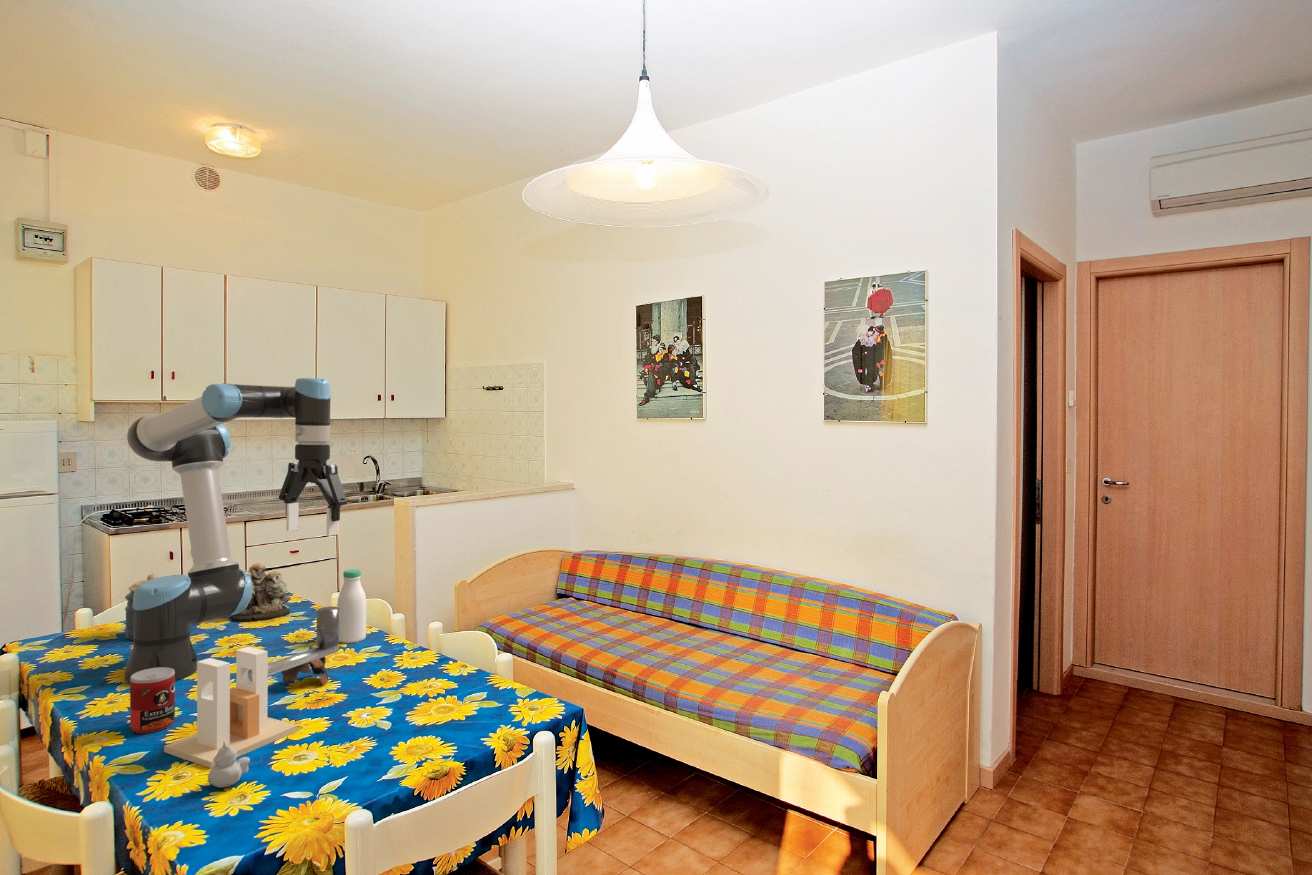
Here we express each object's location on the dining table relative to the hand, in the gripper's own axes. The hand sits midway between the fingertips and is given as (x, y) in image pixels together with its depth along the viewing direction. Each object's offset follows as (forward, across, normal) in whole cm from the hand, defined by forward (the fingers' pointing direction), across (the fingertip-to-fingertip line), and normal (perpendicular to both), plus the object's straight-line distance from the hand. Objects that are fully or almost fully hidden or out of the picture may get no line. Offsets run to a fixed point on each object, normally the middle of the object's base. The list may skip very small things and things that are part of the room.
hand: (312, 532), depth 175 cm
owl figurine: (+37, -64, +33) cm, 81 cm away
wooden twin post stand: (+37, +12, -28) cm, 48 cm away
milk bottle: (+37, -20, +30) cm, 52 cm away
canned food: (+37, -9, -31) cm, 49 cm away
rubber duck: (+37, +27, -39) cm, 60 cm away
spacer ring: (+36, +12, -27) cm, 46 cm away
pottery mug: (+37, -2, +1) cm, 37 cm away
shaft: (+26, +12, -14) cm, 32 cm away
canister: (+37, -73, +6) cm, 82 cm away
